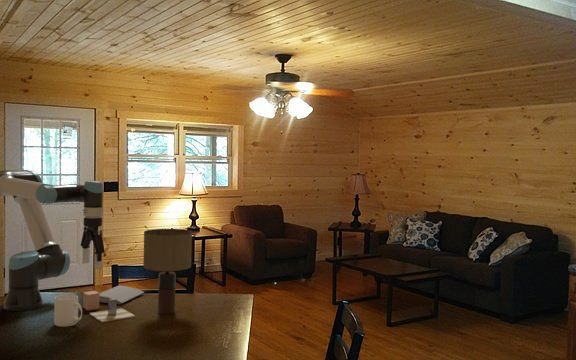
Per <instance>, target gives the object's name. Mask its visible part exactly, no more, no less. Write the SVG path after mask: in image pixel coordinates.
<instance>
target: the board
mask: <svg viewBox="0 0 576 360" xmlns="http://www.w3.org/2000/svg"><path fill="white" fill-rule="evenodd" d="M89 316H91V317H92V318H95V320H97V321H98V322H100V323H102V324H103V323H107V322H108V323H109V322H114V321H119V320H120V321H121V320H127V319H132V318H136V315H135V314H133V313H131V312H130V311H128V310H126V309H124V308H122V307H119V308H117V311H116V315H111V316H110V315H109V314H108V309H106V310H101V311H95V312H93V311H92V312H89Z"/></svg>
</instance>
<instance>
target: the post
mask: <svg viewBox="0 0 576 360" xmlns="http://www.w3.org/2000/svg"><path fill="white" fill-rule="evenodd" d="M107 304H108V305H107V310H108V314H109V315H110V316H111V315H116V311H117V309H118V308H117V305H118V304H117V299H115V298H111V299H108V303H107Z"/></svg>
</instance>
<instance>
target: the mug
mask: <svg viewBox="0 0 576 360" xmlns="http://www.w3.org/2000/svg"><path fill="white" fill-rule="evenodd" d="M79 310H80V316H79ZM53 313H54V318H53V319H54V325H55V326H56V327H60V328H61V327H62V328H63V327H64V328H66V327H67V328H68V327H72V326H75V325H77V324H78V322H79V321H81V319H82V317H83V307H82V306H81V304H80V303H79V296H78V295H77V294H72V293H71V294H60V295H57V296H54V311H53Z"/></svg>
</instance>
